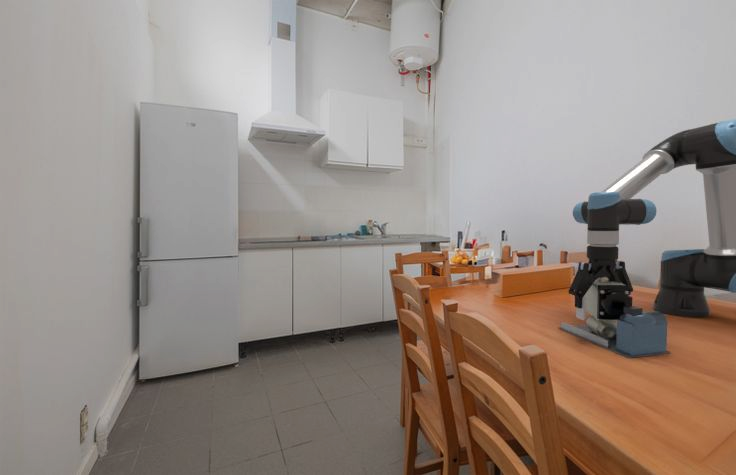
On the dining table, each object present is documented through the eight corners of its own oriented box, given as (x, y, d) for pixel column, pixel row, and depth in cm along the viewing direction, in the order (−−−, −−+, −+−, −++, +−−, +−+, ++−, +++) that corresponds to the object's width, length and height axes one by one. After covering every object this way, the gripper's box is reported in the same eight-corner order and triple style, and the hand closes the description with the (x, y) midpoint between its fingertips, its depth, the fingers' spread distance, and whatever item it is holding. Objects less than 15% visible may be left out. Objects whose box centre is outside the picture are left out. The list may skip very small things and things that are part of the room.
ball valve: (637, 347, 87) (639, 281, 87) (602, 345, 89) (603, 280, 88) (602, 325, 105) (603, 270, 104) (573, 324, 107) (574, 270, 106)
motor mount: (592, 325, 107) (593, 288, 106) (670, 353, 84) (672, 307, 84) (558, 328, 104) (558, 291, 104) (628, 358, 82) (630, 310, 81)
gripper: (625, 243, 102) (623, 310, 103) (555, 245, 97) (554, 316, 98) (650, 245, 94) (647, 317, 96) (576, 247, 89) (574, 324, 91)
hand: (600, 317), depth 97 cm, fingers open, 13 cm apart
